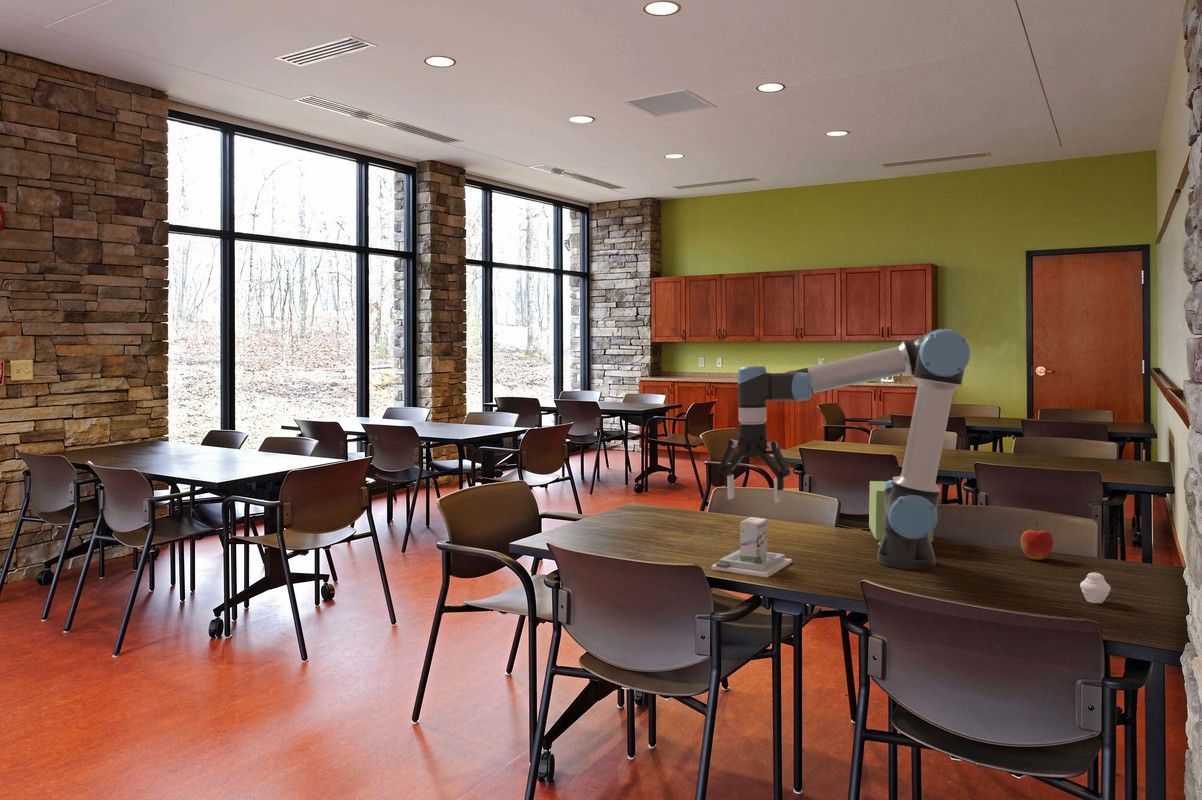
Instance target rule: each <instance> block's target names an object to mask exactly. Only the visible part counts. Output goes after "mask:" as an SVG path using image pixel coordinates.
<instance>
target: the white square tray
mask: <svg viewBox="0 0 1202 800" xmlns="http://www.w3.org/2000/svg"><path fill="white" fill-rule="evenodd" d="M790 563H791V564H792V563H793V558H786V554H785V553H779V552H771V551H767V560H766V561H765V562H763V563H761V564H757V563H749V562H742V561H740V549H738V550H736V551H733V552H731V553H729V554H727V555H726V556H724V557H722V558H720V559H718V562H716V563H714V564H712V565H711V570H714V571H720V572H728V573H735V574H740V575H748V576H754V577H762V578H769V577H770V576H772V575H774V574H775V573H777V572H779V571H780V570H782V569H784V568H785V567H787V566H789V565H790Z"/></svg>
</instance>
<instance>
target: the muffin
mask: <svg viewBox="0 0 1202 800" xmlns="http://www.w3.org/2000/svg"><path fill="white" fill-rule="evenodd" d="M1079 586H1080V589H1081V592H1082V595H1083V596H1084V598H1085V600H1086V602H1088V603H1093V604H1097V603H1099V604H1103V603H1104V602H1105V600H1106V598H1107V597H1108V595H1109V594H1110V591H1111V589H1112V587H1111V585H1110V584H1109V583H1108V582H1107V581H1106V580H1105V576H1104V575H1103V574H1101V573H1099V572H1097V571H1096V572H1089V573H1088V574H1087V575H1086V578H1084V580H1083V581H1081V582H1080V585H1079Z"/></svg>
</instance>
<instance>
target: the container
mask: <svg viewBox="0 0 1202 800" xmlns="http://www.w3.org/2000/svg"><path fill="white" fill-rule="evenodd" d="M898 477H900V475H899V476H897V475H896V476H893V477H892V480H895V479H897V478H898ZM887 481H888V480H887ZM887 481H886V480H885V481H884V480H882V481H881V480H880V481H879V480H877V481H876V480H870V481H869V497H868V499H869V501H868V502H869V503H868V515H869V516H868V520H869V521H868V527H869V529H870V532H871V534H872V535H873V538H874V539H875V540H876V541H878V543H877V544H878V545H879V546H880V545H881V542H882V539H883V536H884V524H885V492H884V489H885V484H886V482H887ZM929 539H930V542H931V543H934V530H933V531H932V532H931V533H930V534H929Z"/></svg>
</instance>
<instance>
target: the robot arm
mask: <svg viewBox="0 0 1202 800" xmlns="http://www.w3.org/2000/svg"><path fill="white" fill-rule="evenodd" d="M970 357H971V348H970V346H969V343H968V341H967V340H966V338H965V337H964V336H963V335H962V334H961V333H960V332H958V331H956V330H954V329H950V328H939V329H935V330H932V331H929V332H927V333H925V334H922V335H920V336H917V337H915V338H912V339H909V340H902V342H901V343H900V344H899V345H898V346H894V347H890V348H889V347H888V348H887V349H882V350H881V349H880V350H877V351H873V352H868V353H864V354H861V355H860V354H859V355H856V356H852V357H847V358H842V359H839V360H834V361H830V362H825V363H821V364H817V365H812V366H808V367H805V368H800V369H795V370H788V371H786V372H773V373H772V372H767V368H766V366H764V365H760V366H759V365H747V366H741V367H739V369H738V372H737V373H738V375H737V398H738V399H737V400H738V401H737V402H738V404H737V405H738V422H739V425H738V437H739V438H738V440H736V439H729V440H728V441H727V448H726V450H725V453H724V455H723V457H722V460H721V461H720V462H719V463H720V464H719V465H718V468H717V472H718V473H720V474H723V476H724V477H723V478H724V481H723V482H724V487H727V488H726V489H727V490H726V491H727V500H732V499H735V479H734V478H735V475H734V474H732V473H733V471H734V470H735V469H736V468H737V467H738V465H739V464H740V463H741V461H742V460H743V459H744V458H745V457H746V458H750V457H752V458H760V459H761V460H762V461H764V463H765V464H766V465H767V467H768V468H769V469H770V470H771V472H772V473H773V474H774V476H776V477H775V478H774V479H773V491H774V492H773V495H774V496H773V498H774V499H773V501H774V503H775V504H779V503H780V502H781V497H782V495H781V493H782V492H781V491H783V490H784V489H785V488H784V487H785V484H784V483H785V482H784V480H785V479H784V478H785V477H789V476H790V475H791V470H790V469H789V467H788V466H789V465H787V462H786V460H785V458H784V457H783V453H782V452H781V450H780V444H779V441H777V440H773V441H768V439H767V438H768V437H767V436H768V430H767V427H768V425H767V423H766V422H767V402H773V401H776V402H778V401H779V402H780V401H781V402H782V401H784V402H785V401H786V402H787V401H788V402H789V401H790V402H791V401H792V402H793V401H794V402H795V401H796V402H800V401H802V402H803V401H809V400H811V399H812V394H816V393H821V392H825V391H831V390H834V389H839V388H846V387H848V386H849V387H850V386H853V385H857V384H863V383H867V382H871V381H876V380H881V379H885V378H890V377H894V376H899V375H904V374H907V375H908V376H910V377H911V376H913V380H914V381H915V382H916V384H917V391H916V396H915V400H914V405H913V410H912V416H911V420H910V427H909V431H908V432H909V433H908V437H907V441H906V442H907V443H906V448H905V452H904V457H903V463H902V466H901V467H902V468H901V473H900V475H899V476H900V477H898V478H897V479H895V480H893V479H892V480H891V479H890V480H889V479H888V480H887V482H886V484H885V489H884V492H885V524H884V536H883V539H882V542H881V545H879V548H878V551H877V556H876V557H877V559H876V560H877V562H878V563H879V564H881V565H883V566H886V567H890V568H893V569H894V568H896V569H902V570H903V569H904V570H924V569H925V570H927V569H932V568H934V567H935V566H936V555H935V552H934V549H933V545H932V542H930V539H929V534H930V533H931V532H932V531H933V532H934V529H935V528H936V526H937V523H938V521H939V519H938V518H939V517H938V510H937V509H938V505H939V499H940V494H941V489H940V487H939V486H938V485H937V483H936V482H937V476H938V472H939V465H940V461H941V456H942V451H943V446H944V441H945V437H946V436H945V435H946V432H947V431H946V430H947V426H948V421H949V417H950V416H949V415H950V410H951V406H952V400H953V396H954V392H955V391H956V390H957V389H959V388H960V387H962V383H963V378H964V373H965V370H966V367H967V366H968V363H969V361H970ZM737 447H738V448H739V449H740V450H739V451H738V453H736V456H735V458H734V459H733V460H732V461H731V459H732V456H733V453H734V451H735V449H736V448H737ZM768 448H769V450H771V453H772V455H773V457H774V459H775V461H774V460H773V458H772V457H771V456H770V454H769V452H768V451H767V450H768ZM730 461H731V463H730V464H729V462H730Z"/></svg>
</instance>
